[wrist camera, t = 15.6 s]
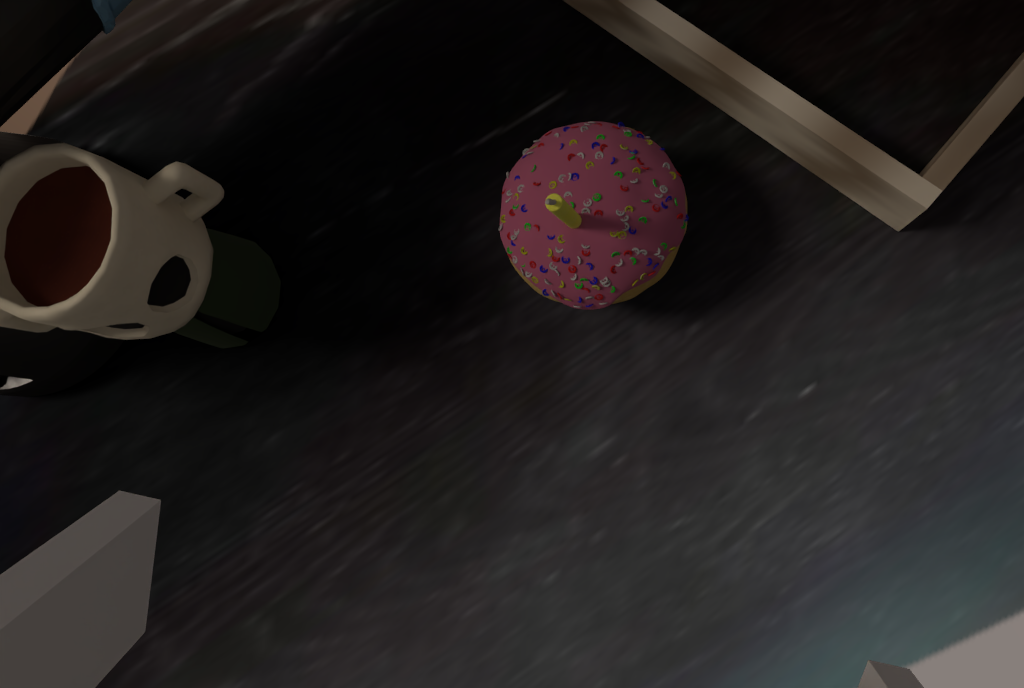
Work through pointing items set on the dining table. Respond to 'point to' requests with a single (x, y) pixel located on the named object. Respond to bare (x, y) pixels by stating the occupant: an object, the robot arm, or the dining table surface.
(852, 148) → the birch box
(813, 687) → the dining table surface
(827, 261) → the dining table surface
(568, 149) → the cupcake
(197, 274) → the character mug
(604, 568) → the dining table surface
